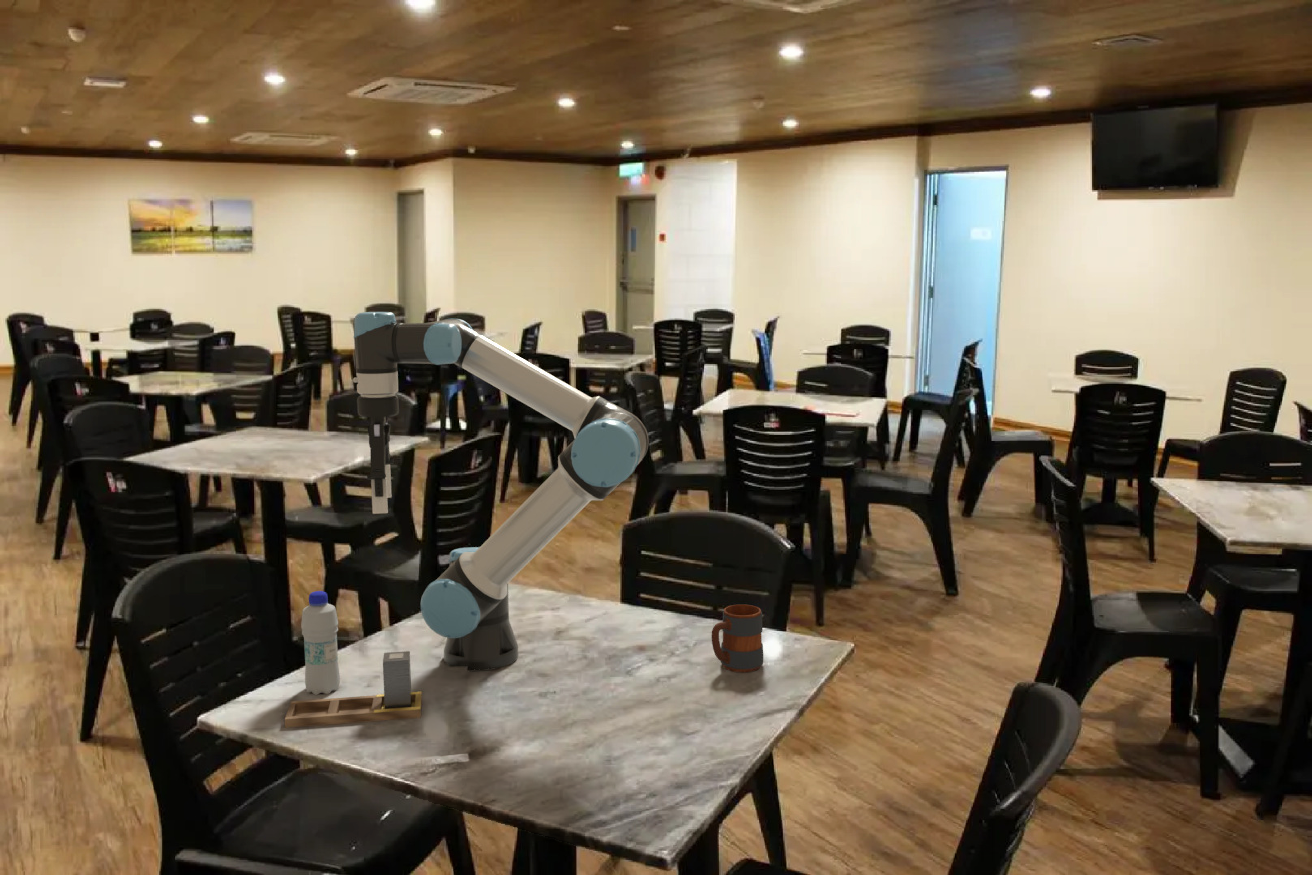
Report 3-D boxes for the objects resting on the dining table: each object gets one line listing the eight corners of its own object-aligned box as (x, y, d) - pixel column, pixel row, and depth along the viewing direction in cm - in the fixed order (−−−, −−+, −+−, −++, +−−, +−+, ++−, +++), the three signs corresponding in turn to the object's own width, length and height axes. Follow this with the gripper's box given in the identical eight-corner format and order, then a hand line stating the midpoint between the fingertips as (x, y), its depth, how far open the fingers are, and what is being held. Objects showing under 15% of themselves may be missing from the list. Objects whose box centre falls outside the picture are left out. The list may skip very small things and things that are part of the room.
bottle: (331, 701, 205) (325, 597, 202) (298, 698, 207) (292, 595, 203) (348, 687, 212) (343, 587, 209) (315, 685, 213) (310, 585, 210)
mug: (698, 667, 222) (698, 611, 220) (744, 655, 229) (744, 600, 227) (726, 680, 215) (726, 623, 213) (772, 667, 222) (773, 611, 220)
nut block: (411, 703, 202) (409, 650, 200) (411, 713, 197) (408, 659, 196) (386, 705, 201) (384, 652, 199) (385, 715, 196) (382, 661, 195)
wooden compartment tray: (421, 704, 204) (421, 691, 203) (420, 722, 196) (420, 708, 196) (291, 714, 200) (291, 700, 199) (285, 732, 192) (284, 718, 191)
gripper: (362, 387, 219) (366, 492, 223) (351, 403, 195) (356, 521, 198) (400, 386, 220) (404, 490, 224) (395, 402, 196) (399, 519, 200)
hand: (382, 505), depth 211 cm, fingers open, 13 cm apart
